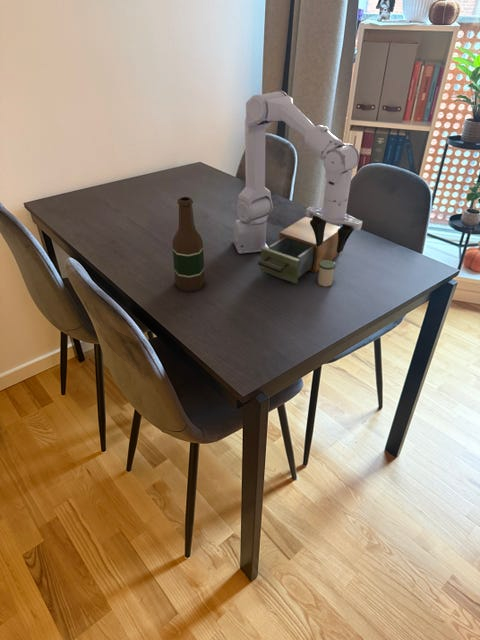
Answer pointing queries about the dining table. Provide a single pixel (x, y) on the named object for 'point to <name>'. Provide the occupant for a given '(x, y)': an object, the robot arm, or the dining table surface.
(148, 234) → the dining table surface
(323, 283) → the jar
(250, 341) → the dining table surface
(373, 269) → the dining table surface
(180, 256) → the beer bottle
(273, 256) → the green drawer
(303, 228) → the wooden drawer box
